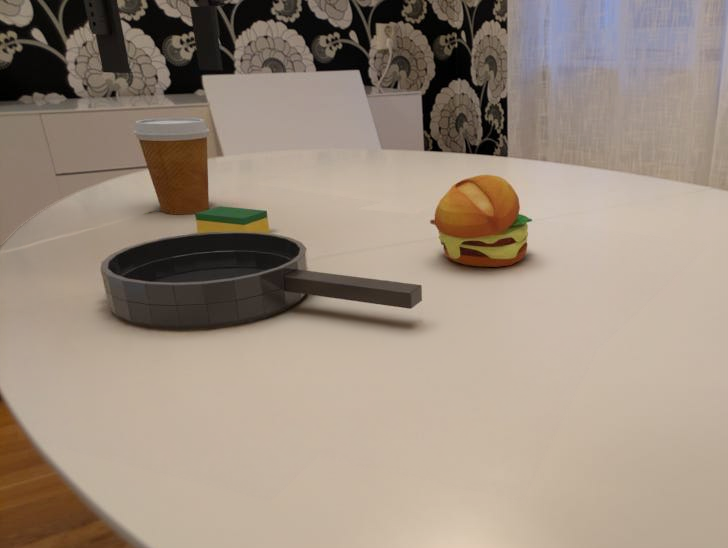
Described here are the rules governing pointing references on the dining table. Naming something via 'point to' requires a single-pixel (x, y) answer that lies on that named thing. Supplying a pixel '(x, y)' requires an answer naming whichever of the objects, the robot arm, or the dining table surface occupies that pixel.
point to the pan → (203, 279)
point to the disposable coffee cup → (176, 162)
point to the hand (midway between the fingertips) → (167, 71)
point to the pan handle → (353, 288)
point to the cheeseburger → (482, 223)
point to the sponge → (232, 220)
